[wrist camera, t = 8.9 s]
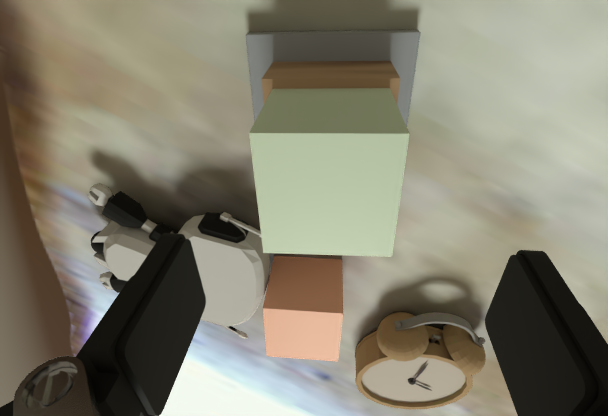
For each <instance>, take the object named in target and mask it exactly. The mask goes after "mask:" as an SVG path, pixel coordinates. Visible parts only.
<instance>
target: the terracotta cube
mask: <svg viewBox="0 0 608 416" xmlns="http://www.w3.org/2000/svg"><path fill="white" fill-rule="evenodd" d="M263 315H264V328H265V340H266V352H267V356H271V357H285V358H299V359H312V360H326V361H338V357H339V348H340V339H341V329H342V320H343V281H342V260H340V259H323V258H306V257H289V256H274V259H273V264H272V268H271V273H270V278H269V282H268V287H267V292H266V296H265V301H264V306H263Z"/></svg>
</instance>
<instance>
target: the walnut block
mask: <svg viewBox="0 0 608 416" xmlns="http://www.w3.org/2000/svg"><path fill="white" fill-rule="evenodd" d="M399 86H400V77H399V75H398V73H397V71H396V70H395V68H394V66H393V64H392V62H391V61H302V62H273V63H272V64H271V66H270V67H269V69H268V70H267V71H266V73H265V74H264V76H263V77H262V90H263V101H264V104H265V102H266V100H267V98H268V96H269V94H270V93H271V91H272V89H314V88H390V90H391V92H392V94H393V97H394V99H395V101H396V103H397V102H398V94H399Z"/></svg>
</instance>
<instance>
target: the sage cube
mask: <svg viewBox="0 0 608 416" xmlns="http://www.w3.org/2000/svg"><path fill="white" fill-rule="evenodd" d="M409 135H410V133H409V131H408V129H407V127H406V124H405V122H404V120H403V117H402V115H401V113H400V110H399V108H398V106H397V103H396V101H395V99H394V97H393V94H392V92H391V90H390V88H314V89H272V91H271V93H270V94H269V96H268V98H267V100H266V102H265V104H264V106H263V108H262V110H261V112H260V113H259V115H258V117H257V119H256V121H255V123H254V125H253V127H252V129H251V131H250V132H249V136H250V145H251V153H252V162H253V170H254V179H255V187H256V195H257V204H258V212H259V221H260V229H261V238H262V246H263V253H283V254H316V255H350V256H383V257H392V252H393V246H394V239H395V232H396V225H397V218H398V211H399V204H400V197H401V190H402V183H403V176H404V169H405V162H406V155H407V148H408V141H409Z"/></svg>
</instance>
